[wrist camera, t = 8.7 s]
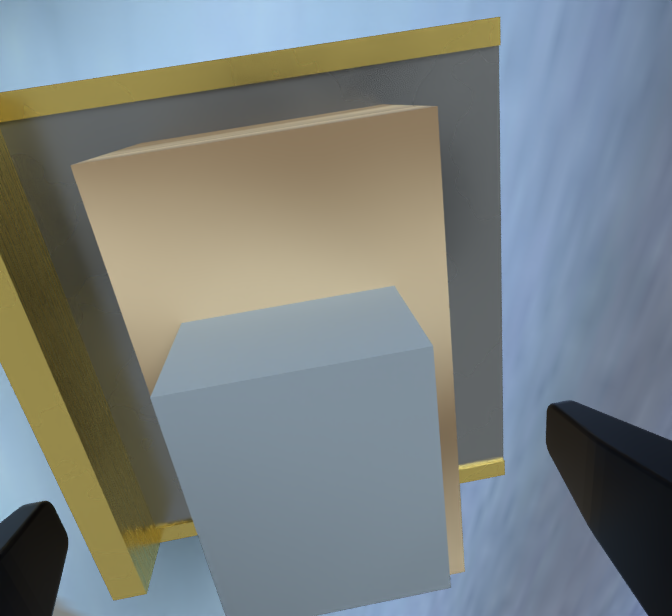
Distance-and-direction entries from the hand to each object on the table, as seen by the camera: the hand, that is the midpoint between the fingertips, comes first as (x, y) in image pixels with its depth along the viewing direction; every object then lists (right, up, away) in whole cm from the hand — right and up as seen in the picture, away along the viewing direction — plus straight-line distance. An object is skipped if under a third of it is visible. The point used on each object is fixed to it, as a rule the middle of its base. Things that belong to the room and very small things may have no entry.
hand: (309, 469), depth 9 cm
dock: (-1, +4, +8) cm, 9 cm away
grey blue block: (0, +1, +1) cm, 2 cm away
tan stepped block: (0, +2, +5) cm, 6 cm away
